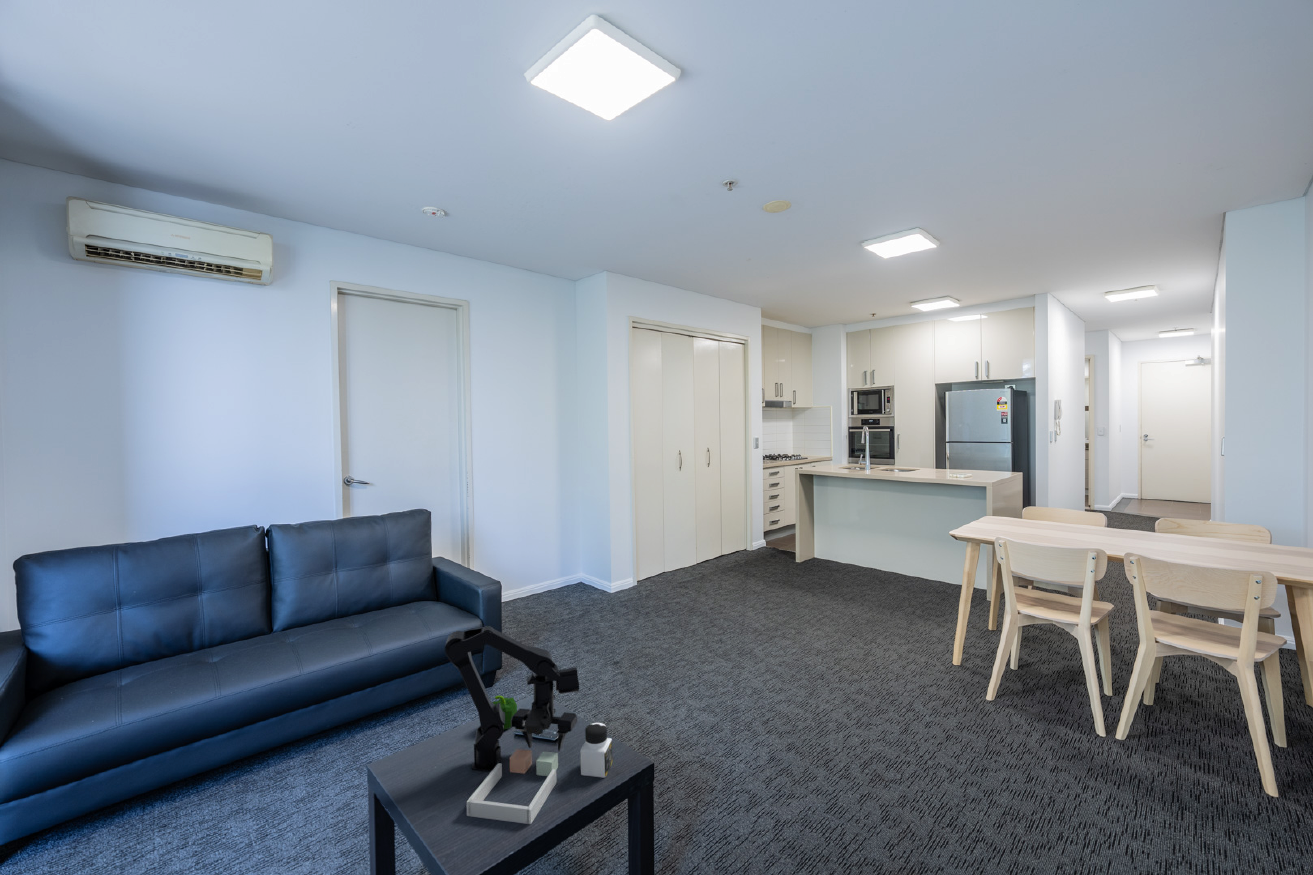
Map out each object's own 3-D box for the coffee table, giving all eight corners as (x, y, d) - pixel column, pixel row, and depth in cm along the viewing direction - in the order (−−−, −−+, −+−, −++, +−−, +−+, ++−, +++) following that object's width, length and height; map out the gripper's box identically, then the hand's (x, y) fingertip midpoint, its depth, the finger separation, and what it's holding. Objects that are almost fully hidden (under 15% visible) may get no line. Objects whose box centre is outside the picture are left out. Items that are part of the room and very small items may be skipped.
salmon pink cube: (509, 772, 151) (509, 757, 151) (517, 762, 155) (516, 748, 155) (524, 773, 150) (524, 759, 150) (531, 764, 155) (531, 750, 155)
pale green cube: (536, 775, 149) (536, 760, 149) (543, 765, 154) (542, 751, 154) (552, 776, 149) (551, 762, 149) (558, 766, 153) (557, 752, 153)
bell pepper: (521, 719, 179) (521, 689, 179) (511, 733, 171) (510, 701, 171) (497, 718, 180) (497, 688, 180) (486, 731, 172) (485, 700, 172)
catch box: (466, 815, 134) (466, 801, 134) (498, 775, 149) (498, 763, 149) (530, 824, 130) (530, 809, 130) (556, 782, 146) (556, 769, 146)
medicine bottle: (605, 778, 147) (604, 734, 147) (580, 775, 149) (579, 732, 149) (612, 762, 154) (611, 720, 154) (588, 760, 156) (588, 718, 156)
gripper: (501, 706, 153) (502, 761, 153) (563, 711, 150) (564, 768, 150) (519, 688, 164) (520, 739, 164) (577, 693, 160) (578, 745, 160)
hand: (544, 748), depth 159 cm, fingers open, 9 cm apart
